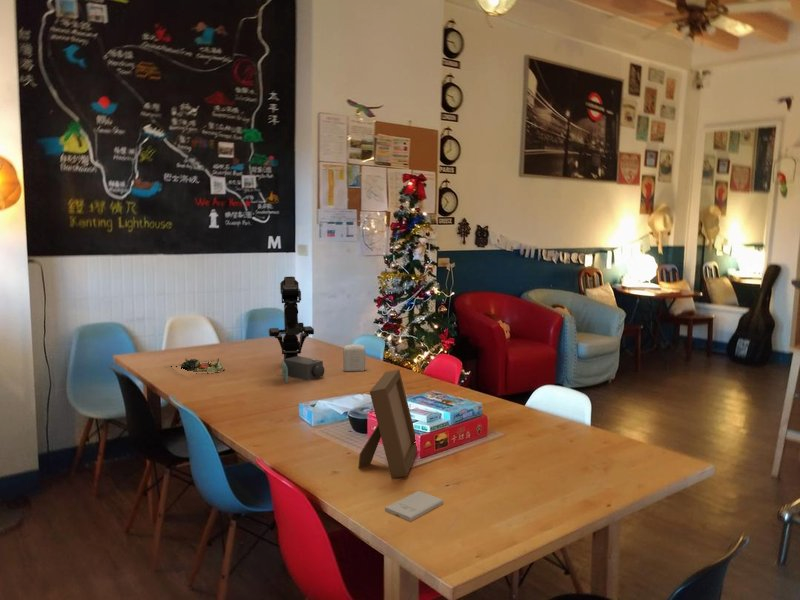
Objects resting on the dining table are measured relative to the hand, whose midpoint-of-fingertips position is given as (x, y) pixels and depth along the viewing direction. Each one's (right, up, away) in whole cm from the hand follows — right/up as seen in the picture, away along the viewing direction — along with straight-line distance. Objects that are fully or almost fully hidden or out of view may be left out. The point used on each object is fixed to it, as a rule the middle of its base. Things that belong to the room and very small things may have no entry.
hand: (291, 351), depth 271 cm
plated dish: (-46, -11, +23) cm, 53 cm away
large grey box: (+4, -12, +10) cm, 16 cm away
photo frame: (+43, -25, -89) cm, 102 cm away
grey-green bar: (-4, -13, +5) cm, 14 cm away
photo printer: (+26, -11, +20) cm, 34 cm away
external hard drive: (+50, -29, -117) cm, 131 cm away
